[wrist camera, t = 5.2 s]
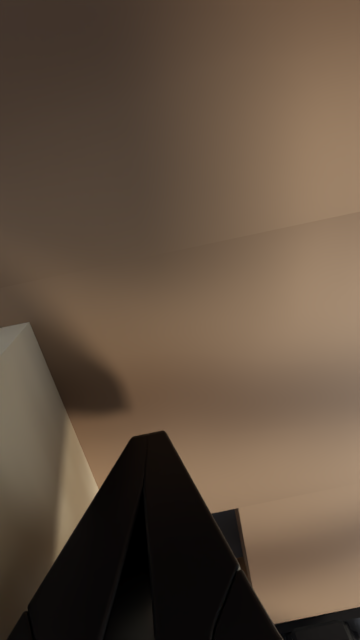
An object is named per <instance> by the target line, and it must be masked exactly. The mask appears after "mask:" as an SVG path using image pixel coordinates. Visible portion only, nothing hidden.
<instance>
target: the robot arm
mask: <svg viewBox="0 0 360 640" xmlns="http://www.w3.org/2000/svg"><path fill="white" fill-rule="evenodd" d="M27 609H28V611H24V612H23V613H22V615H21V616H20V618H19V620H18V621H17V623H16V625H15V626H14V628H13V629H12V631H11V633H10V634H9V636H8V638H7V639H6V640H360V608H355V609H350V610H345V611H340V612H335V613H330V614H325V615H320V616H315V617H311V618H306V619H301V620H296V621H291V622H286V623H281V624H276V625H274V623H273V622H272V620H271V618H270V617H269V615H268V613H267V612H266V610H265V608H264V607H263V605H262V603H261V601H260V600H259V598H258V596H257V595H256V593H255V591H254V589H253V588H252V586H251V584H250V582H249V580H248V579H247V577H246V575H245V573H244V571H243V570H241V569H240V565H239V563H238V561H237V559H236V557H235V556H234V554H233V552H232V550H231V548H230V547H229V545H228V543H227V541H226V539H225V538H224V536H223V534H222V532H221V530H220V529H219V527H218V525H217V523H216V521H215V519H214V518H213V516H212V514H211V512H210V510H209V509H208V507H207V505H206V503H205V501H204V500H203V498H202V496H201V494H200V492H199V491H198V489H197V487H196V485H195V483H194V482H193V480H192V478H191V476H190V474H189V473H188V471H187V469H186V467H185V465H184V464H183V462H182V460H181V458H180V456H179V455H178V453H177V451H176V449H175V447H174V445H173V444H172V442H171V440H170V438H169V436H168V435H167V433H166V432H165V431H164V430H162V431H157V432H152V433H149V434H148V433H147V434H142V435H137V436H133V437H132V438H131V439H130V440H129V442H128V443H127V445H126V447H125V448H124V450H123V451H122V453H121V455H120V456H119V458H118V460H117V461H116V463H115V464H114V466H113V468H112V469H111V471H110V473H109V474H108V476H107V477H106V479H105V481H104V482H103V484H102V486H101V487H100V489H99V490H98V492H97V494H96V495H95V497H94V498H93V500H92V502H91V503H90V505H89V507H88V508H87V510H86V511H85V513H84V515H83V516H82V518H81V520H80V521H79V523H78V524H77V526H76V528H75V529H74V531H73V533H72V534H71V536H70V537H69V539H68V541H67V542H66V544H65V546H64V547H63V549H62V550H61V552H60V554H59V555H58V557H57V558H56V560H55V562H54V563H53V565H52V567H51V568H50V570H49V571H48V573H47V575H46V576H45V578H44V580H43V581H42V583H41V584H40V586H39V588H38V589H37V591H36V593H35V594H34V596H33V597H32V599H31V601H30V602H29V604H28V606H27Z"/></svg>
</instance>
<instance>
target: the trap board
mask: <svg viewBox="0 0 360 640" xmlns="http://www.w3.org/2000/svg"><path fill="white" fill-rule="evenodd" d="M27 322H29V323H30V325H31V327H32V330H33V332H34V335H35V337H36V339H37V342H38V344H39V347H40V349H41V352H42V354H43V356H44V359H45V361H46V364H47V366H48V368H49V371H50V373H51V376H52V378H53V380H54V383H55V385H56V388H57V390H58V393H59V395H60V397H61V400H62V402H63V405H64V407H65V409H66V412H67V414H68V417H69V419H70V421H71V424H72V426H73V429H74V431H75V433H76V436H77V438H78V441H79V443H80V446H81V448H82V450H83V453H84V455H85V458H86V460H87V462H88V465H89V467H90V470H91V472H92V474H93V477H94V479H95V482H96V484H97V487H98V489H100V487H101V486H102V484H103V482H104V481H105V479H106V477H107V476H108V474H109V473H110V471H111V469H112V468H113V466H114V464H115V463H116V461H117V460H118V458H119V456H120V455H121V453H122V451H123V450H124V448H125V447H126V445H127V443H128V442H129V440H130V439H131V438H132V437H133V436H137V435H142V434H147V433H148V434H149V433H152V432H157V431H162V430H164V431H165V432H166V433H167V435H168V436H169V438H170V440H171V442H172V444H173V445H174V447H175V449H176V451H177V453H178V455H179V456H180V458H181V460H182V462H183V464H184V465H185V467H186V469H187V471H188V473H189V474H190V476H191V478H192V480H193V482H194V483H195V485H196V487H197V489H198V491H199V492H200V494H201V496H202V498H203V500H204V501H205V503H206V505H207V507H208V509H209V510H210V512H211V514H212V516H213V518H214V519H215V521H216V523H217V525H218V527H219V529H220V530H221V532H222V534H223V536H224V538H225V539H226V541H227V543H228V545H229V547H230V548H231V550H232V552H233V554H234V556H235V557H236V559H237V561H238V563H239V565H240V569H241V570H243V571H244V573H245V575H246V577H247V579H248V580H249V582H250V584H251V586H252V588H253V589H254V591H255V593H256V595H257V596H258V598H259V600H260V601H261V603H262V605H263V607H264V608H265V610H266V612H267V613H268V615H269V617H270V618H271V620H272V622H273V623H274V624H278V623H283V622H287V621H292V620H297V619H302V618H307V617H312V616H317V615H322V614H327V613H332V612H337V611H342V610H347V609H352V608H357V607H360V0H0V328H3V327H7V326H12V325H17V324H22V323H27Z"/></svg>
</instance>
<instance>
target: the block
mask: <svg viewBox="0 0 360 640" xmlns="http://www.w3.org/2000/svg"><path fill="white" fill-rule="evenodd" d="M98 490H99V489H98V487H97V484H96V482H95V479H94V477H93V474H92V472H91V470H90V467H89V465H88V462H87V460H86V458H85V455H84V453H83V450H82V448H81V446H80V443H79V441H78V438H77V436H76V433H75V431H74V429H73V426H72V424H71V421H70V419H69V417H68V414H67V412H66V409H65V407H64V405H63V402H62V400H61V397H60V395H59V393H58V390H57V388H56V385H55V383H54V380H53V378H52V376H51V373H50V371H49V368H48V366H47V364H46V361H45V359H44V356H43V354H42V352H41V349H40V347H39V344H38V342H37V339H36V337H35V335H34V332H33V330H32V327H31V325H30V323H29V322H27V323H22V324H17V325H12V326H7V327H3V328H0V640H6V639H7V638H8V636H9V634H10V633H11V631H12V629H13V628H14V626H15V625H16V623H17V621H18V620H19V618H20V616H21V615H22V613H23V612H24V611H28V609H27V606H28V604H29V602H30V601H31V599H32V597H33V596H34V594H35V593H36V591H37V589H38V588H39V586H40V584H41V583H42V581H43V580H44V578H45V576H46V575H47V573H48V571H49V570H50V568H51V567H52V565H53V563H54V562H55V560H56V558H57V557H58V555H59V554H60V552H61V550H62V549H63V547H64V546H65V544H66V542H67V541H68V539H69V537H70V536H71V534H72V533H73V531H74V529H75V528H76V526H77V524H78V523H79V521H80V520H81V518H82V516H83V515H84V513H85V511H86V510H87V508H88V507H89V505H90V503H91V502H92V500H93V498H94V497H95V495H96V494H97V492H98Z"/></svg>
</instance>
